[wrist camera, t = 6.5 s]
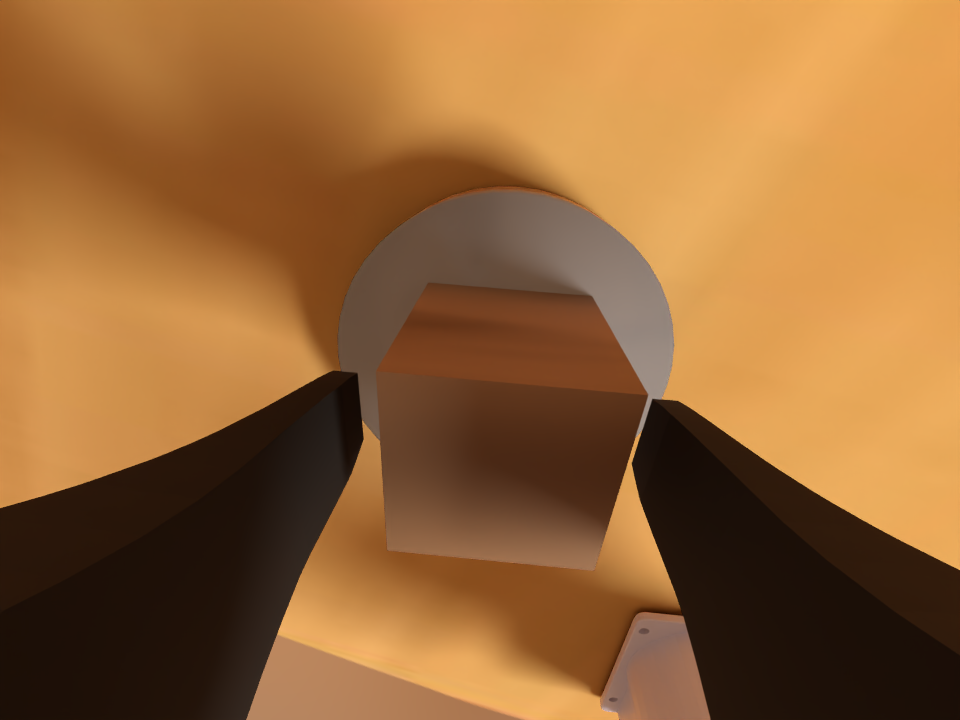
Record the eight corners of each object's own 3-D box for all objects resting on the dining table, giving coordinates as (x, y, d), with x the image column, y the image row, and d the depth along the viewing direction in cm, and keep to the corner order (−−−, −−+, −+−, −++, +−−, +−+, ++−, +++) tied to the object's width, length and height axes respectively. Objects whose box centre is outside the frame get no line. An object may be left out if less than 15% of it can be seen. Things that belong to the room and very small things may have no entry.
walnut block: (565, 428, 13) (593, 570, 9) (427, 415, 13) (387, 550, 9) (592, 296, 11) (648, 394, 7) (428, 282, 11) (375, 370, 7)
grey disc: (614, 465, 16) (628, 503, 14) (368, 442, 16) (351, 477, 15) (691, 199, 12) (725, 208, 10) (346, 173, 12) (318, 178, 10)
